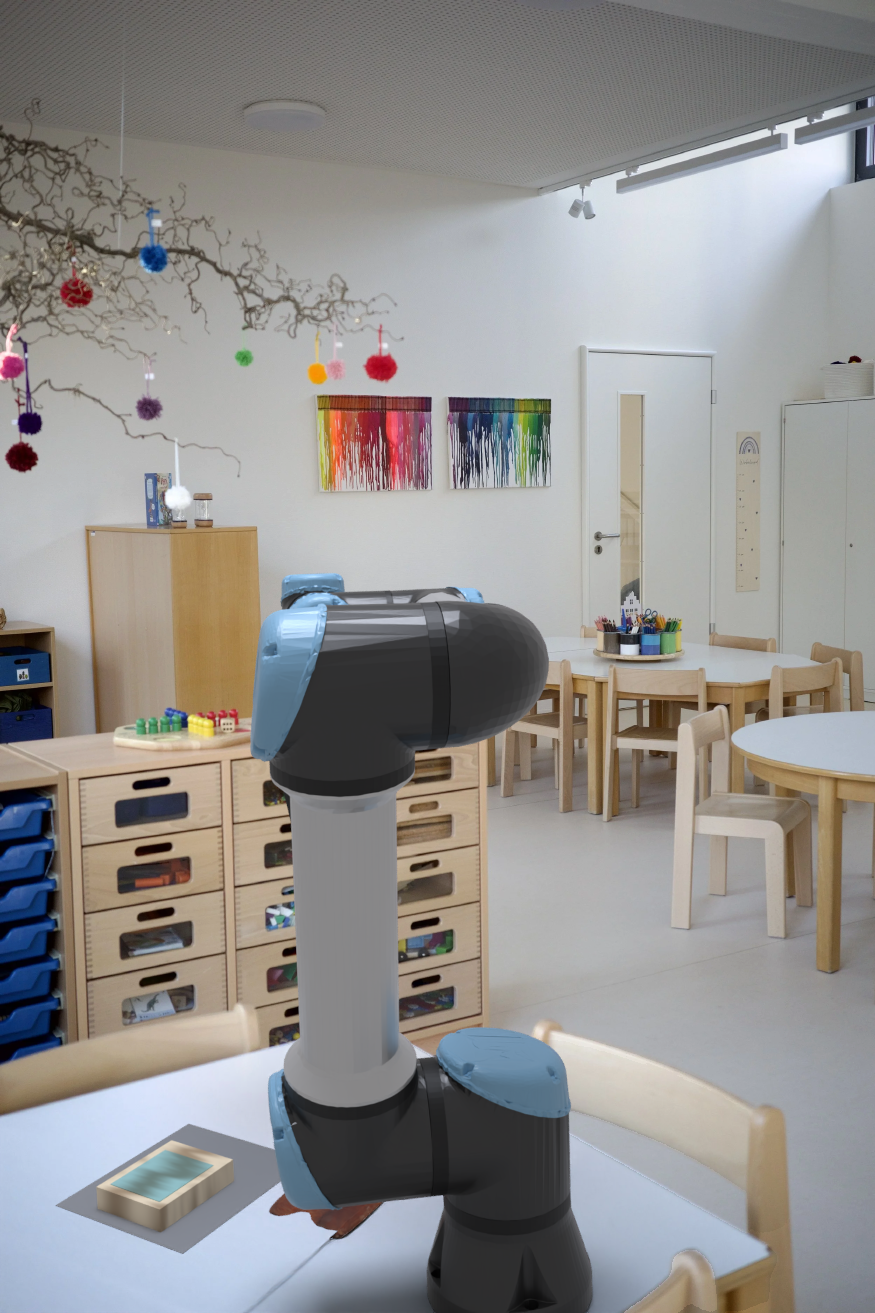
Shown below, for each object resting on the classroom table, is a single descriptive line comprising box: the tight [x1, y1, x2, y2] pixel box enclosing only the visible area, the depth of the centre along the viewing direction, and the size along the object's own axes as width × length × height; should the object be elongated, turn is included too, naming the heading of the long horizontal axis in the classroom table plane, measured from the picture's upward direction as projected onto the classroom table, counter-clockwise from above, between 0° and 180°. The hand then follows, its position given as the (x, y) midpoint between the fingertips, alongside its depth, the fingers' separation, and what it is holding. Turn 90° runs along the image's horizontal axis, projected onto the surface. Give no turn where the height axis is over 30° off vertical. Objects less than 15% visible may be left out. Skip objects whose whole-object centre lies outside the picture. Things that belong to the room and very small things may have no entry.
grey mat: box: [55, 1123, 281, 1255], centre depth 129 cm, size 18×20×1 cm
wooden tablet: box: [268, 1192, 383, 1240], centre depth 132 cm, size 27×10×2 cm, turn 153°
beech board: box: [96, 1140, 234, 1232], centre depth 127 cm, size 9×2×11 cm
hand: (326, 896), depth 145 cm, fingers closed
